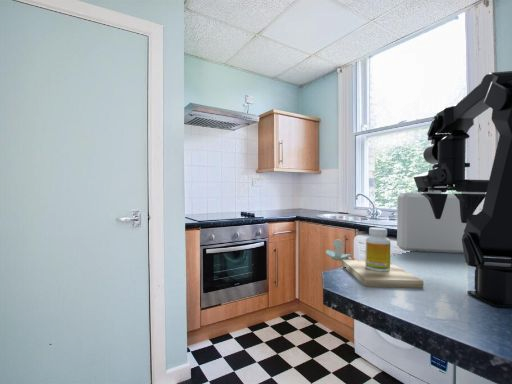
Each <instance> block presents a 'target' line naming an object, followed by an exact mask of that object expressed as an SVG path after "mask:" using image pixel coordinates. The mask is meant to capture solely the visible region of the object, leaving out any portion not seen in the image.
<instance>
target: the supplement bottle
mask: <svg viewBox="0 0 512 384" xmlns="http://www.w3.org/2000/svg"><path fill="white" fill-rule="evenodd" d="M368 233H369V235H368V236H367V237H366V239H365V259H364V260H365V264H366V268H368V269H370V270H373V271H379V272H386V271H389V270H390V263H391V240H390V239H389V238H388V237H387V236H388V229H387V228H386V227H385V228H384V227H369V229H368Z"/></svg>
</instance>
